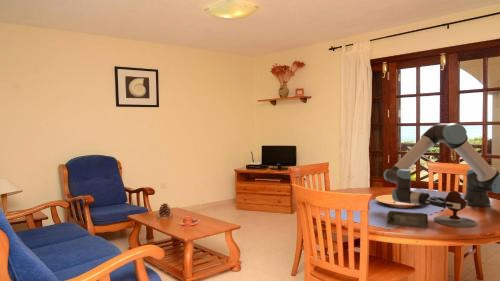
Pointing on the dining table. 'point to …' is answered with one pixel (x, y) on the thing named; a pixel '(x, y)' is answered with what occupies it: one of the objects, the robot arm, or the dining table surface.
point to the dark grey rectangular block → (407, 219)
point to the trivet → (455, 221)
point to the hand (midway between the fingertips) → (463, 204)
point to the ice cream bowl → (455, 198)
